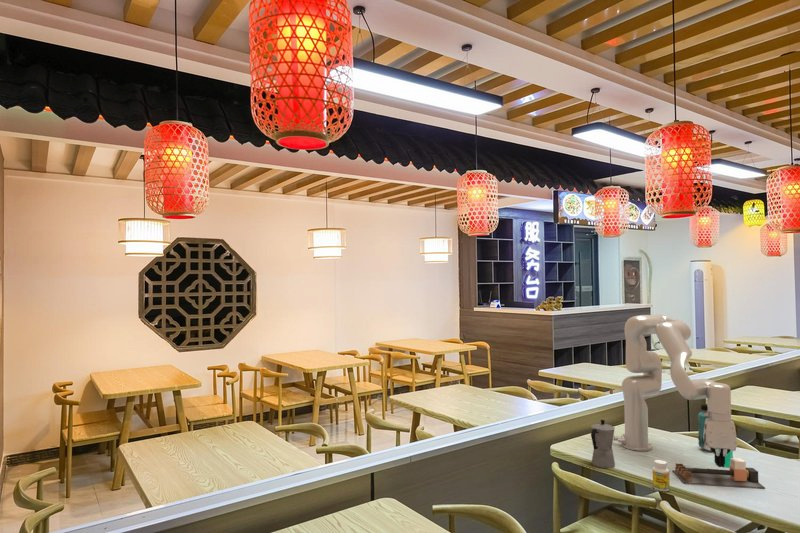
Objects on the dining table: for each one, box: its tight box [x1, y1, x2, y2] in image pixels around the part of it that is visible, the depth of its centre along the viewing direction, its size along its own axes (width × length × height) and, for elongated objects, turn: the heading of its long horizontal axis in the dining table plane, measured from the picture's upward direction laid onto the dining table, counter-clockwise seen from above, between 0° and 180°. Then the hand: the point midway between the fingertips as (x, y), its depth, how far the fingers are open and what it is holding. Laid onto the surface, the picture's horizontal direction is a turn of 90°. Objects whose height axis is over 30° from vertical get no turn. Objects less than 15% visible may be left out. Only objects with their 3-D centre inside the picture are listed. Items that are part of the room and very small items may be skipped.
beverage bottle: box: [697, 403, 708, 450], centre depth 224 cm, size 6×7×20 cm
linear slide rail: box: [672, 462, 766, 490], centre depth 192 cm, size 27×12×5 cm, turn 80°
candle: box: [719, 449, 734, 468], centre depth 208 cm, size 6×6×12 cm
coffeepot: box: [590, 419, 616, 469], centre depth 207 cm, size 15×9×18 cm, turn 131°
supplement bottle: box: [652, 459, 671, 492], centre depth 184 cm, size 5×5×10 cm
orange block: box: [729, 457, 747, 481], centre depth 190 cm, size 4×4×7 cm
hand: (719, 465), depth 191 cm, fingers closed
